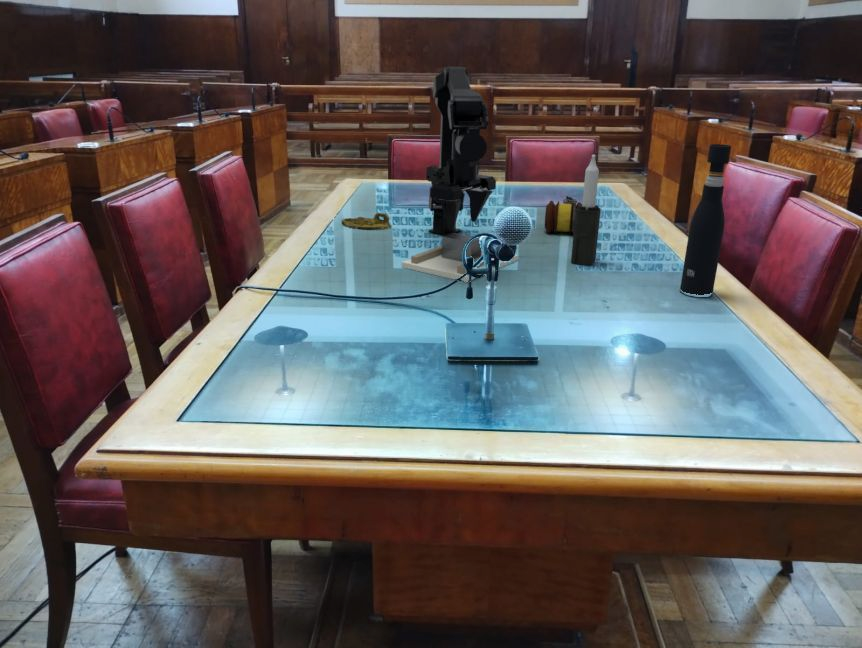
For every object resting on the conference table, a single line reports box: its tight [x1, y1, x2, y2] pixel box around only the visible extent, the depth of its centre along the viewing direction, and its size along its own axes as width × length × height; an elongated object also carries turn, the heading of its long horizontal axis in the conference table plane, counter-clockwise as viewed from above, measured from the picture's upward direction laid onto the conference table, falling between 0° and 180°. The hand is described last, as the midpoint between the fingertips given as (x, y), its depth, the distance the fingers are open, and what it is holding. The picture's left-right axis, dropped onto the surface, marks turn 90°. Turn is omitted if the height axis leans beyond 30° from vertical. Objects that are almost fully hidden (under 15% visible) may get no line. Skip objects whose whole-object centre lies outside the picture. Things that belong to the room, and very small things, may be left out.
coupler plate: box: [401, 244, 519, 283], centre depth 160 cm, size 22×18×3 cm
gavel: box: [544, 195, 582, 235], centre depth 198 cm, size 10×34×10 cm
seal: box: [341, 212, 392, 231], centre depth 193 cm, size 9×5×15 cm
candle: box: [570, 154, 602, 267], centre depth 159 cm, size 5×5×25 cm
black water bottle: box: [679, 143, 732, 295], centre depth 138 cm, size 6×6×30 cm
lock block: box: [441, 232, 482, 262], centre depth 160 cm, size 4×8×5 cm, turn 54°
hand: (462, 224), depth 157 cm, fingers open, 9 cm apart
